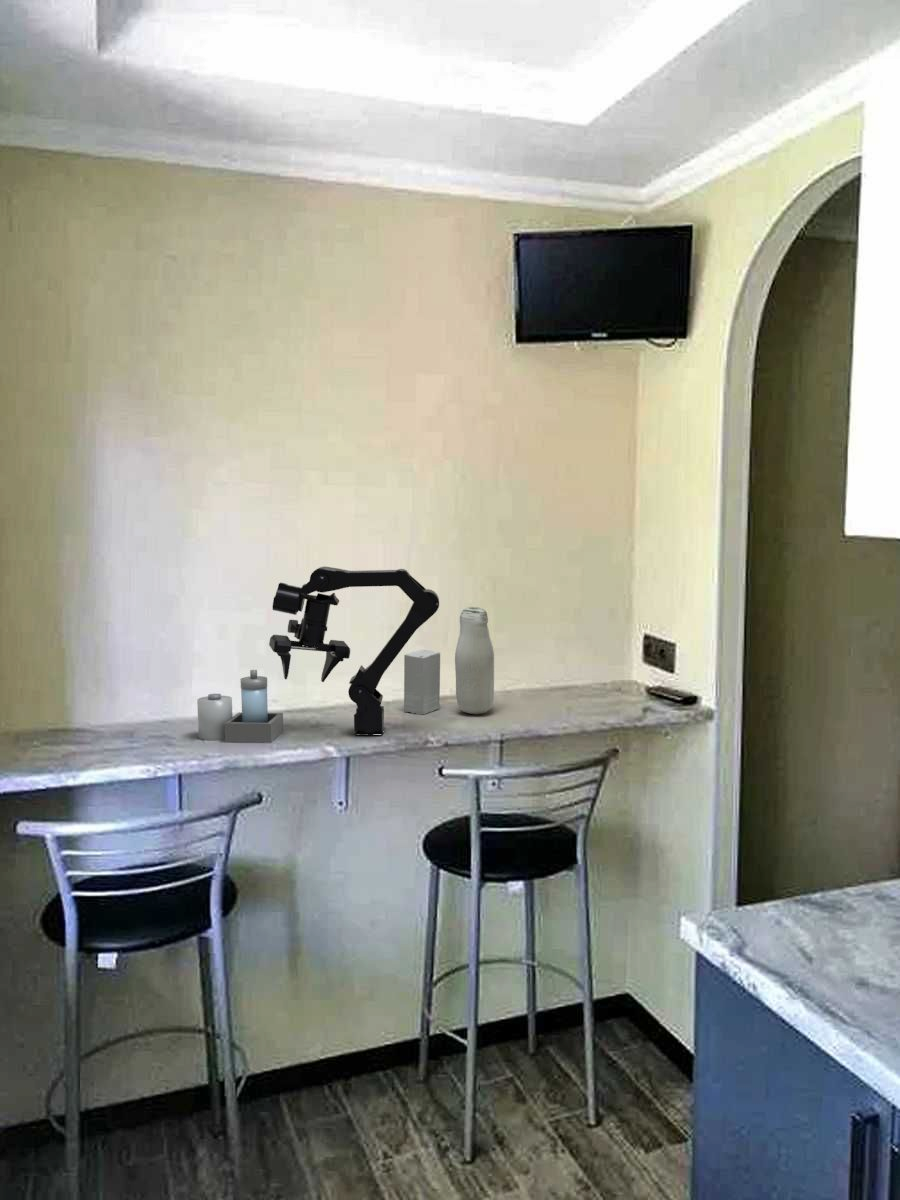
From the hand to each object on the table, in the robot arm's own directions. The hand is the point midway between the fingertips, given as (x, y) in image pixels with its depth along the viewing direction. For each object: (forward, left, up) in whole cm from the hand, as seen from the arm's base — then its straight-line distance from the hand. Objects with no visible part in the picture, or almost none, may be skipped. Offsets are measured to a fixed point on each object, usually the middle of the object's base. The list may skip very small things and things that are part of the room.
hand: (304, 680), depth 229 cm
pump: (+11, +5, -12) cm, 17 cm away
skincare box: (-26, -23, -13) cm, 37 cm away
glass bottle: (-40, -21, -13) cm, 47 cm away
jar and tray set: (+14, +6, -13) cm, 20 cm away
